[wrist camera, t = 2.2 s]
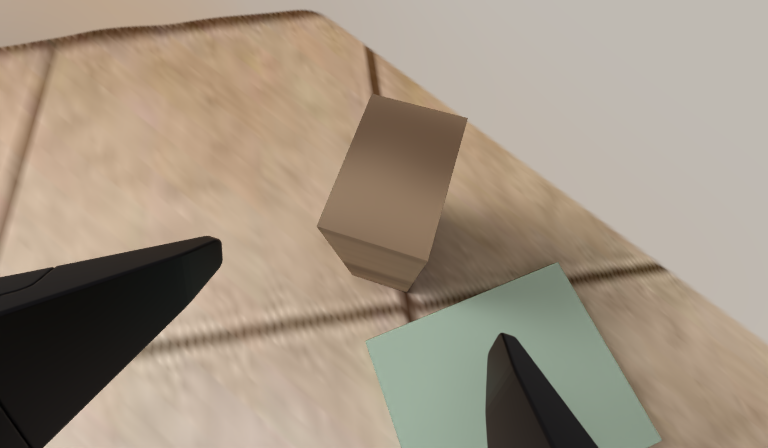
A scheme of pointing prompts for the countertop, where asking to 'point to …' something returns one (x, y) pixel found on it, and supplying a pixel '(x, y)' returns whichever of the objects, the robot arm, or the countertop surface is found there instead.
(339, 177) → the block
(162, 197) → the countertop surface
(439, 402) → the mat
